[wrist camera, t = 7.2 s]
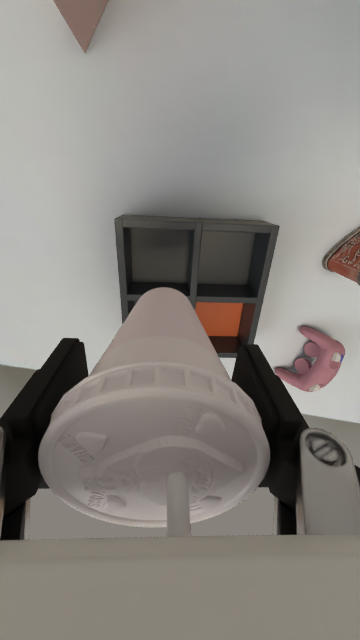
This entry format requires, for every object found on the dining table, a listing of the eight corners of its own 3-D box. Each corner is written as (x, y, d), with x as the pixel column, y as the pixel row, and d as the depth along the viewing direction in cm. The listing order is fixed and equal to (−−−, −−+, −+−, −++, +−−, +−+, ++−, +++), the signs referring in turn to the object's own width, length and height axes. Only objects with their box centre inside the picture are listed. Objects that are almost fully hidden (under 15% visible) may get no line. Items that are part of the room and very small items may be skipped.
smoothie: (213, 353, 17) (339, 813, 4) (121, 359, 17) (-19, 845, 4) (215, 261, 14) (655, 925, 1) (102, 267, 14) (-567, 1035, 1)
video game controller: (286, 369, 43) (320, 399, 38) (270, 372, 41) (304, 404, 36) (315, 322, 39) (358, 349, 34) (299, 323, 36) (343, 351, 31)
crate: (263, 220, 30) (279, 225, 25) (240, 338, 38) (250, 358, 33) (122, 214, 29) (114, 218, 24) (130, 336, 37) (124, 356, 32)
